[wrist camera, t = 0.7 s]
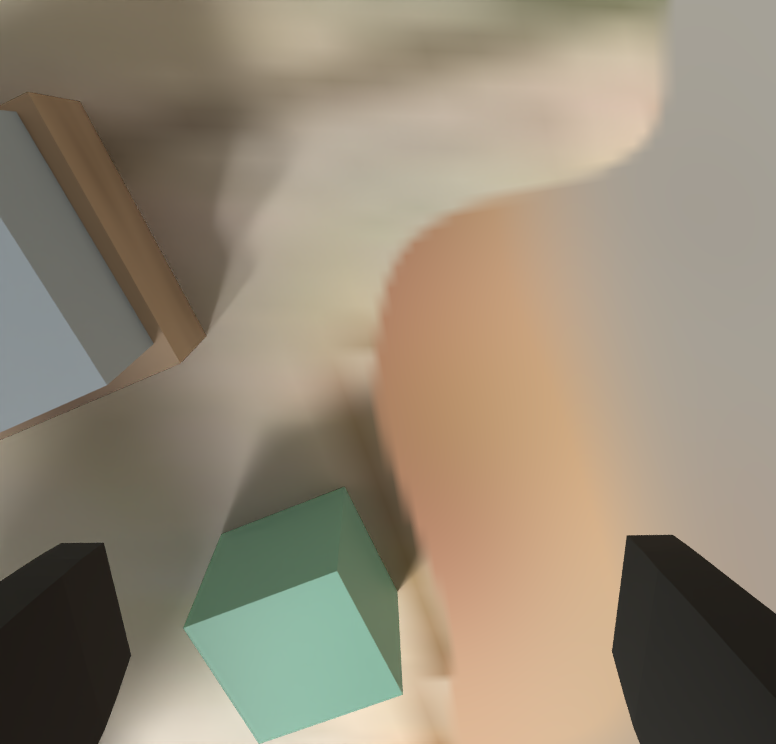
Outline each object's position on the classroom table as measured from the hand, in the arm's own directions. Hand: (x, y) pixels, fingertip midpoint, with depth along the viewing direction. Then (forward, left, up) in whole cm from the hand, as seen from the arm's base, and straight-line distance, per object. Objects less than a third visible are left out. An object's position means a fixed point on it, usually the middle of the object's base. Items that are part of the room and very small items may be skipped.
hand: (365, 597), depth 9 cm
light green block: (-5, -6, -11) cm, 13 cm away
